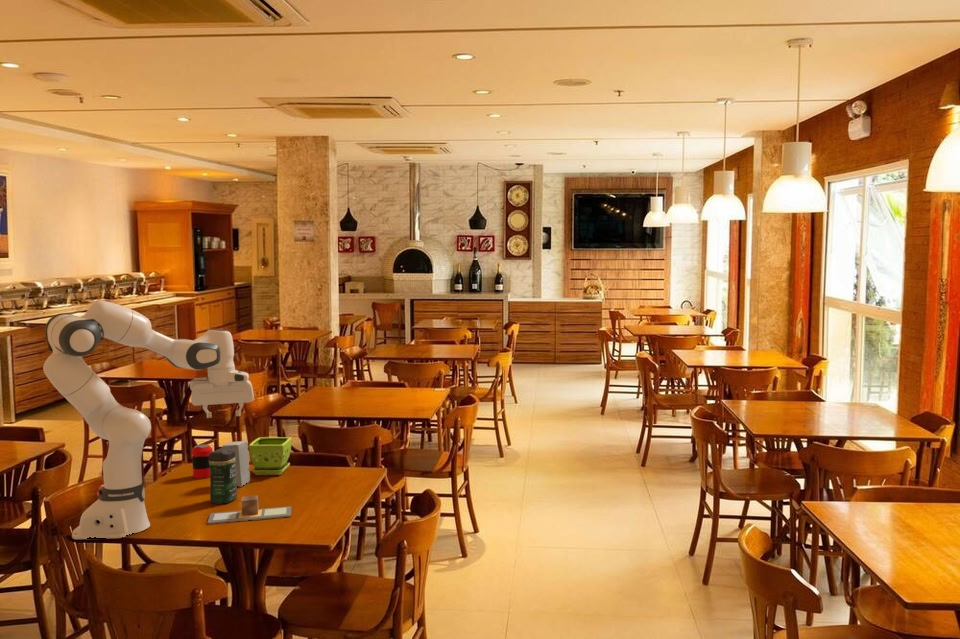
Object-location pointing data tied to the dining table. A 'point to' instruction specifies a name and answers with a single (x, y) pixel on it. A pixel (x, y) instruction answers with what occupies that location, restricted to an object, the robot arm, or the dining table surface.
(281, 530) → the dining table surface
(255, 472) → the flower pot
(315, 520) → the dining table surface
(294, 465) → the dining table surface
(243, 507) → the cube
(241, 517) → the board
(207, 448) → the soda can
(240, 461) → the skincare box
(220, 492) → the coffee jar
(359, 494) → the dining table surface
